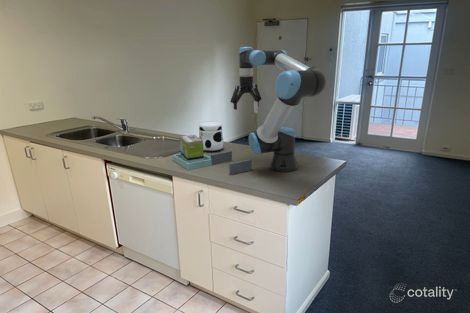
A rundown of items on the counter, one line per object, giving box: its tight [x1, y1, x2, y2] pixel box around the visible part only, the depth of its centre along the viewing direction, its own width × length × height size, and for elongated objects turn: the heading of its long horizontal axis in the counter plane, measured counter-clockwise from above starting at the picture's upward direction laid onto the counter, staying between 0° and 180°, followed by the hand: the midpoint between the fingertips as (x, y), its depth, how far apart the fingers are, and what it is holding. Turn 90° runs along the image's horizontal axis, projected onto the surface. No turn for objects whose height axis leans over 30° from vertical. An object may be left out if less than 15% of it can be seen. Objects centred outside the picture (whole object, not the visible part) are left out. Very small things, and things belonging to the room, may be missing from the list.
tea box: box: [179, 134, 205, 163], centre depth 190 cm, size 15×10×15 cm, turn 25°
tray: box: [172, 153, 213, 171], centre depth 192 cm, size 21×16×4 cm
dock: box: [210, 150, 253, 176], centre depth 184 cm, size 21×14×6 cm, turn 34°
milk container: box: [198, 121, 225, 153], centre depth 217 cm, size 17×17×18 cm
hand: (246, 113), depth 186 cm, fingers open, 13 cm apart
